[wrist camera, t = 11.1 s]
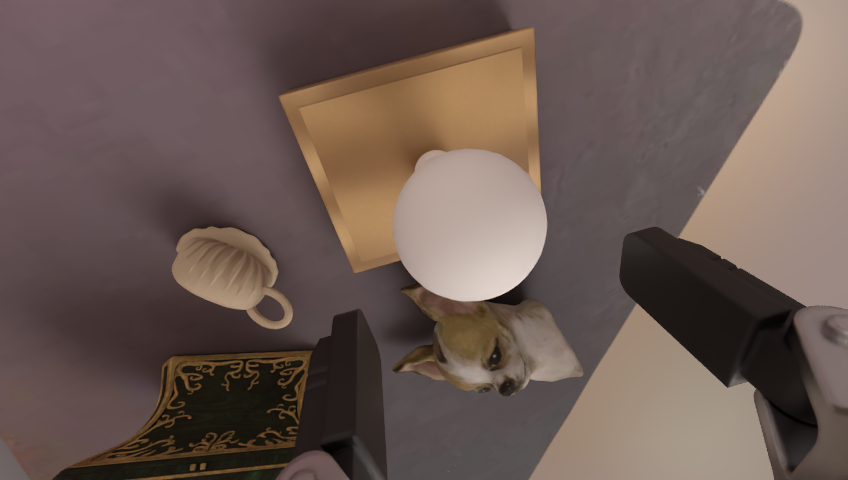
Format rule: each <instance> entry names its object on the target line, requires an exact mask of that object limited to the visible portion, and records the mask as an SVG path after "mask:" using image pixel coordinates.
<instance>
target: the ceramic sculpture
mask: <svg viewBox="0 0 848 480" xmlns="http://www.w3.org/2000/svg"><path fill="white" fill-rule="evenodd" d="M401 292H402V293H404V294H405V295H407V296H408V297H410V298H411V299H412V300H413V301H414V303H415V304H416V305H417V306H418V307H419V308H420V309H421V311H422V312H423V313H424V314H425V315H427V316H428V317H429V318H431V319H433V320H434V321H437V323H436V325H435V328H434V333H433V345H423V346H420V347H417V348H416V349H415V350H413V351H412V352H410V353H409V354H408V355H406V356H405V357H404V358H403V359H402V360H401V361H399V362H398V363H397V364H396V365H395V366H394V367H393V368H392V372H394V373H402V372H406V371H412V372H415V373H417V374H420V375H427V376H428V377H429V378H432V379H435V380H446V381H448V382H450V383H451V384H452V385H454V386H456V387H457V388H459V389H461V390H464V391H469V390H475V391H476V392H478V393H480V392H488V391H493V390H497V391H498V392H499V393H500V394H501V395H503V396H510V395H514V394H517V393H518V392H519V391H520V390H521V389H523V388H525V386H526V385H527V384H528V382H529V379H532V380H537V381H551V382H552V381H556V380H560V379H564V378H568V377H580V376H582V375H583V370H582V367H581V365H580V363H579V361H578V359H577V357H576V355H575V353H574V350H573V349H572V347H571V346H570V345H569V343H568V342H567V340H566V339H565V337H564V336H563V334H562V333H561V331H560V329H559V328H558V326H557V324H556V322H555V321H554V319H553V317H552V315H551V313H550V311H549V310H548V309H547V308H546V307H545V305H544V304H543V303H542V302H540V301H538V300H536V299H526V300H523V301H522V302H521V303H520V304H519V305H515V306H511V305H506V304H497V303H491V302H487V301H484V300H482V301H457V300H452V299H449V298H446V297H442V296H440V295H437V294H435V293H433V292H431V291H429V290H427V289H426V288H424V287H423V286H422V285H421V284H420V283H418V284H414V285H410V286H407V287H403V288H401Z"/></svg>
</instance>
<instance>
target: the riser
mask: <svg viewBox="0 0 848 480" xmlns="http://www.w3.org/2000/svg"><path fill="white" fill-rule="evenodd" d="M279 99H280V102H281V104H282V106H283V109H284V111H285V113H286V116H287V118H288V120H289V123H290V125H291V127H292V130H293V132H294V134H295V137H296V139H297V141H298V144H299V146H300V148H301V151H302V153H303V155H304V158H305V160H306V162H307V165H308V167H309V169H310V172H311V174H312V176H313V179H314V181H315V183H316V186H317V188H318V190H319V193H320V195H321V197H322V200H323V202H324V204H325V207H326V209H327V211H328V214H329V216H330V218H331V221H332V223H333V225H334V228H335V230H336V232H337V235H338V237H339V239H340V242H341V244H342V246H343V249H344V251H345V253H346V255H347V258H348V260H349V262H350V265H351V267H352V269H353V272H354V273H357V272H361V271H365V270H368V269H372V268H375V267H379V266H382V265H386V264H389V263H393V262H397V261H400V260H401V259H400V257H399V255H398V252H397V250H396V248H395V242H394V236H393V229H392V225H393V213H394V210H395V206H396V202H397V199H398V197H399V194H400V192H401V191H402V189H403V187H404V185H405V183H406V182H407V180H408V179H409V178H410V177H411V175H412V174H413V173H414V172H415V166H416V163H417V161H418V160H419V158H420V157H421V156H422V155H423V154H425V153H427V152H429V151H432V150H441V151H444V152H449V151H453V150H460V149H480V150H487V151H490V152H494V153H498V154H501V155H503V156H504V157H506V158H508V159H510V160H512V161H513V162H515V163H516V164H517V165H519V166H520V167H521V168H522V169H523V170H524V171H525V172H526V173H527V174H528V175H529V176H530V178H531V179H532V181H533V182H534V184H535V185H536V187H537V188H538V190H539V192H540V194H541V181H540V157H539V134H538V111H537V88H536V65H535V42H534V28H533V27H528V28H521V29H514V30H509V31H505V32H502V33H498V34H494V35H491V36H487V37H483V38H480V39H476V40H472V41H468V42H465V43H461V44H457V45H454V46H450V47H446V48H443V49H439V50H435V51H431V52H428V53H424V54H420V55H417V56H413V57H409V58H406V59H402V60H398V61H395V62H391V63H387V64H383V65H380V66H376V67H372V68H369V69H365V70H361V71H358V72H354V73H350V74H346V75H343V76H339V77H335V78H332V79H328V80H324V81H321V82H317V83H313V84H309V85H306V86H302V87H298V88H295V89H291V90H289V91H287V92H285V93H283V94H281V95H280V96H279Z"/></svg>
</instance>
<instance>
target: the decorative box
mask: <svg viewBox="0 0 848 480" xmlns="http://www.w3.org/2000/svg"><path fill="white" fill-rule="evenodd" d="M312 352H313V351H290V352H267V353H244V354H220V355H197V356H174V357H171V358H170V359H169V360H168V361H166V362H165V363H164V365H163V366H162V378H161V390H160V396H159V400H158V403H157V406H156V408H155V410H154V412H153V414H152V416H151V417H150V419H149V420H148V421H147V423H146V424H145V425H144V426H143V428H142V429H141V430H140V431H139V432H138V433H137V434H136V435H134V436H133V437H131V438H130V439H128V440H127V441H125V442H123V443H122V444H120V445H118V446H115V447H113V448H111V449H108V450H106V451H104V452H101V453H99V454H97V455H95V456H92V457H90V458H88V459H85V460H83V461H81V462H78V463H76V464H74V465H72V466H69V467H67V468H65V469H64V470H62V471H61V472H60V473H59V474H57V475H56V476H55V477H54V478H53V479H52V480H276V478H277V476H278V475H279V474H280V472H281V471H282V470H283V469H284V467H285V466H286V465H287V464H288V463H289V462H291V459H292V457H293V452H294V448H295V442H296V436H297V430H298V424H299V419H300V413H301V407H302V401H303V395H304V392H305V384H306V378H307V376H308V373H307V372H308V366H309V360H310V355H311V354H312Z"/></svg>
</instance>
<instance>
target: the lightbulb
mask: <svg viewBox="0 0 848 480" xmlns="http://www.w3.org/2000/svg"><path fill="white" fill-rule="evenodd" d="M392 229H393V236H394V242H395V248H396V250H397V252H398V255H399V257H400V259H401V261H402V263H403V265H404V266H405V268H406V269H407V270H408V272H409V273H410V274H411V276H412V277H413V278H414V279H415V280H417V281H418V282H419V283H420V284H421V285H422V286H423V287H424V288H426V289H427V290H429V291H431V292H433V293H435V294H437V295H440V296H442V297H446V298H449V299H452V300H457V301H482V300H487V299H491V298H494V297H497V296H500V295H502V294H504V293H506V292H508V291H510V290H511V289H513V288H514V287H515V286H517V285H518V284H519V283H520V282H521V281H522V280H524V279H525V278H526V277H527V275H528V274H529V273H530V271H531V270H532V269H533V267H534V266H535V264H536V263H537V261H538V259H539V257H540V255H541V252H542V249H543V246H544V243H545V238H546V231H547V218H546V211H545V206H544V203H543V200H542V197H541V194H540V192H539V190H538V188H537V187H536V185H535V184H534V182H533V181H532V179H531V178H530V176H529V175H528V174H527V173H526V172H525V171H524V170H523V169H522V168H521V167H520V166H519V165H517V164H516V163H515V162H513V161H512V160H510V159H508V158H506V157H504V156H503V155H501V154H498V153H494V152H490V151H487V150H480V149H460V150H453V151H449V152H444V151H441V150H432V151H429V152H427V153H425V154H423V155H422V156H421V157H420V158H419V160H418V161H417V163H416V166H415V172H414V173H413V174H412V175H411V177H410V178H409V179H408V180H407V182H406V183H405V185H404V187H403V189H402V191H401V192H400V194H399V197H398V199H397V202H396V206H395V210H394V213H393V225H392Z"/></svg>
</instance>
